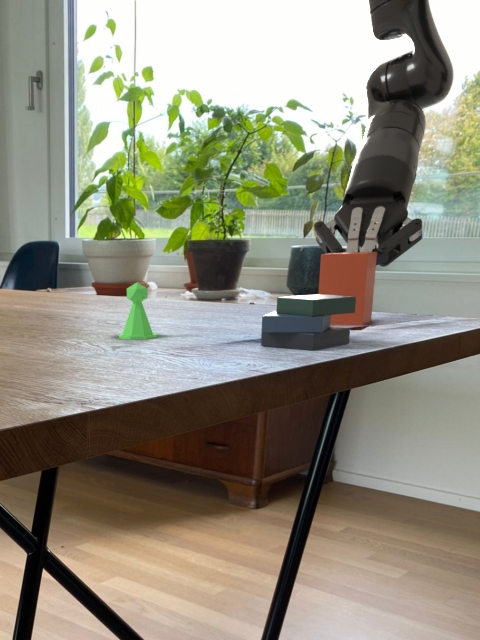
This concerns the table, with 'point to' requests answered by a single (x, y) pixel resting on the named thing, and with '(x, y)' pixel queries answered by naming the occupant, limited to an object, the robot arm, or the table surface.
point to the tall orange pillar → (350, 283)
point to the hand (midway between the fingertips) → (351, 288)
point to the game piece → (137, 315)
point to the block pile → (307, 322)
